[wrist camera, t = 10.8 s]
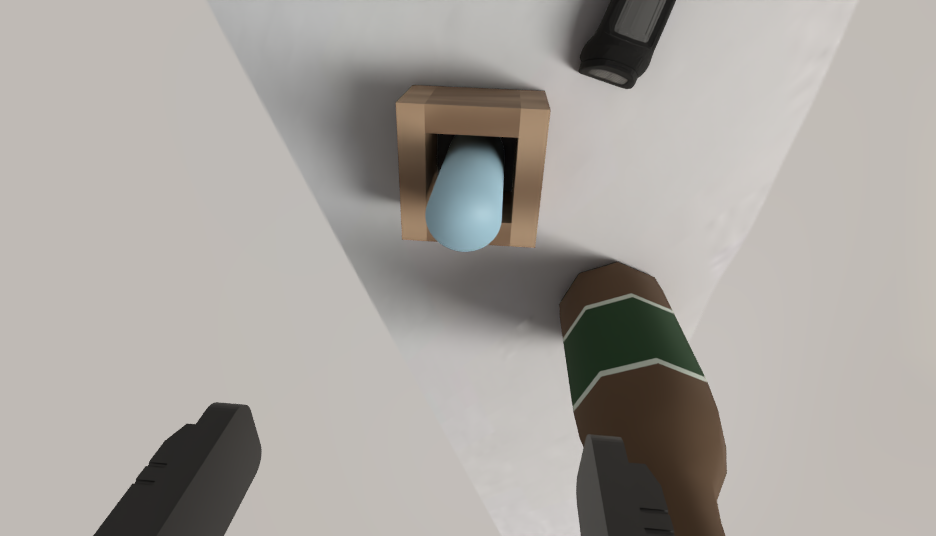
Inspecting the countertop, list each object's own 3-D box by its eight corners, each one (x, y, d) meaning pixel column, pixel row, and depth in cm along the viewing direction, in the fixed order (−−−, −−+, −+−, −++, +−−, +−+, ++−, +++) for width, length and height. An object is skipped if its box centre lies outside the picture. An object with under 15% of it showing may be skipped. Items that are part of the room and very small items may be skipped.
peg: (449, 123, 30) (424, 179, 22) (506, 126, 30) (504, 183, 22) (449, 178, 32) (426, 249, 24) (502, 181, 32) (499, 253, 23)
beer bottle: (621, 238, 33) (798, 647, 13) (684, 306, 36) (917, 742, 15) (536, 300, 37) (567, 708, 16) (599, 359, 39) (697, 779, 18)
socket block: (412, 84, 29) (395, 102, 25) (544, 90, 29) (550, 109, 25) (416, 206, 33) (402, 239, 29) (531, 213, 33) (534, 247, 29)
